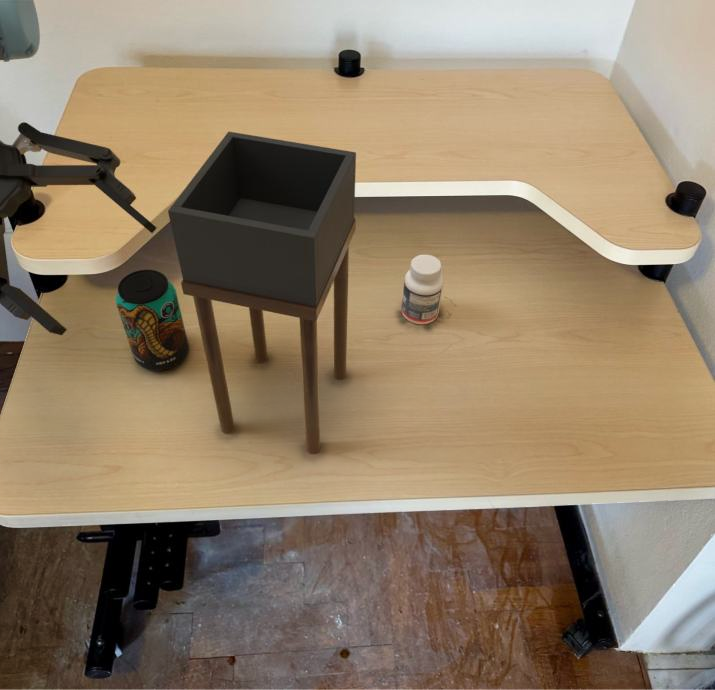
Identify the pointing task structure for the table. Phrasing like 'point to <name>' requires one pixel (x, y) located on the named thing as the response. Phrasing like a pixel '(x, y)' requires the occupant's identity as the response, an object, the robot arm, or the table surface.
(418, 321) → the pill bottle
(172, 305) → the beverage can
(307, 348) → the stool
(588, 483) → the table surface
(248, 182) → the trash bin
